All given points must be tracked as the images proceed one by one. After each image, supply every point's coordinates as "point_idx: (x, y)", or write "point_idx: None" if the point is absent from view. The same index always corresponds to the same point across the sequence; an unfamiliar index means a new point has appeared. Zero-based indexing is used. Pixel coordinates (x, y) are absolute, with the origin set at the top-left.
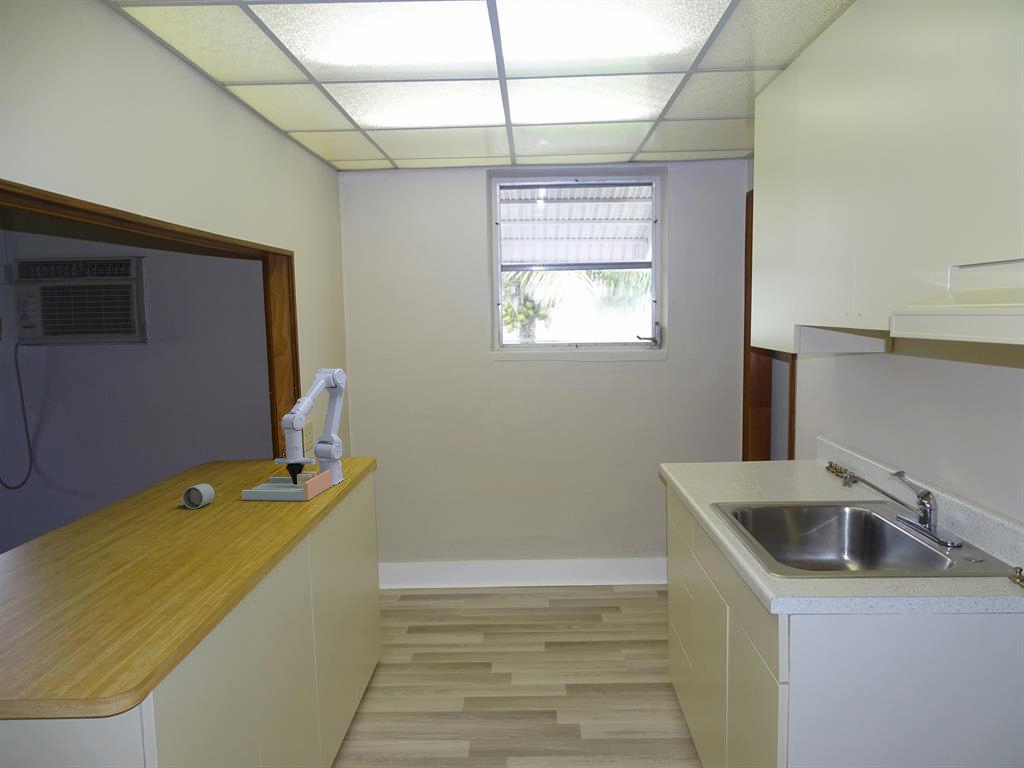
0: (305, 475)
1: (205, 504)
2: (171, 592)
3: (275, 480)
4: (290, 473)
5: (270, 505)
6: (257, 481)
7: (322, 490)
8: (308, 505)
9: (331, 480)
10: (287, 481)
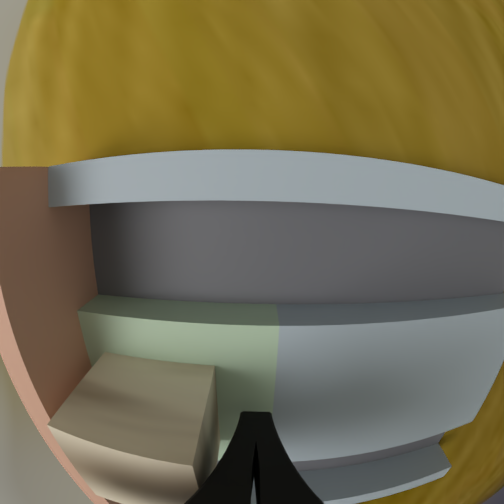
0: (92, 437)
1: None
2: None
3: (422, 467)
4: (294, 488)
5: (306, 51)
6: (467, 460)
7: None
8: (49, 95)
9: None
10: (365, 479)
